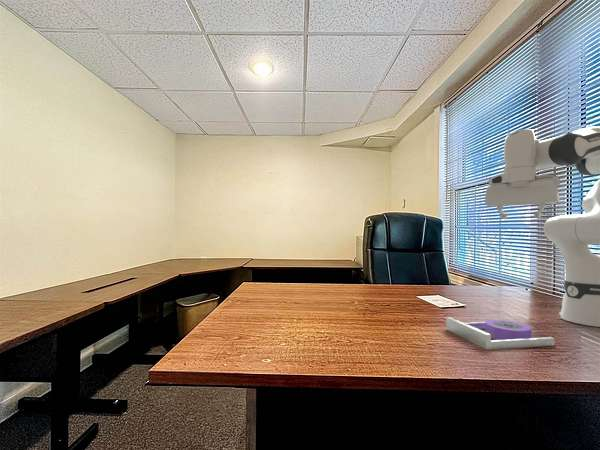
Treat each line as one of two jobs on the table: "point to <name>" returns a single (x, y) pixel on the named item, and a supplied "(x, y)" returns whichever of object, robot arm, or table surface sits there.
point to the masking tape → (507, 330)
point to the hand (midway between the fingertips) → (520, 218)
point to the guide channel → (484, 339)
